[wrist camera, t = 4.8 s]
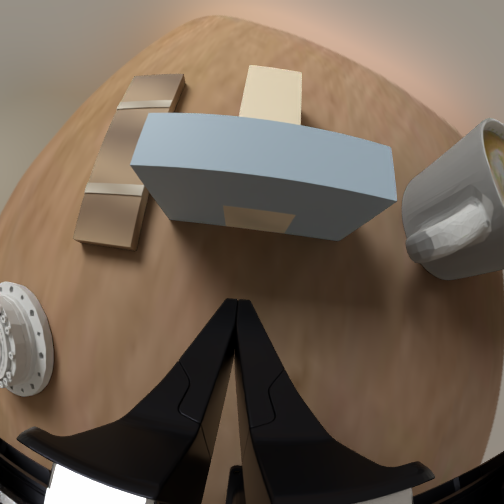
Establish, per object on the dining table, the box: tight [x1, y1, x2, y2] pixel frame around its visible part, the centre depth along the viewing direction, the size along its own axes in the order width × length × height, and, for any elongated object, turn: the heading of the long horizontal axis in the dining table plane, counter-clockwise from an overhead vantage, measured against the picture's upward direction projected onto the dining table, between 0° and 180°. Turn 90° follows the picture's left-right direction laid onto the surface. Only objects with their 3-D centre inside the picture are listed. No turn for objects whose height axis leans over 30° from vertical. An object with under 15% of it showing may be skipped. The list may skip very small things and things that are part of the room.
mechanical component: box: [0, 282, 54, 397], centre depth 14 cm, size 10×4×10 cm
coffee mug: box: [402, 118, 504, 280], centre depth 15 cm, size 13×10×10 cm
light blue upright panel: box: [130, 65, 397, 241], centre depth 16 cm, size 12×12×8 cm
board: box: [73, 74, 185, 251], centre depth 19 cm, size 16×5×1 cm, turn 173°
